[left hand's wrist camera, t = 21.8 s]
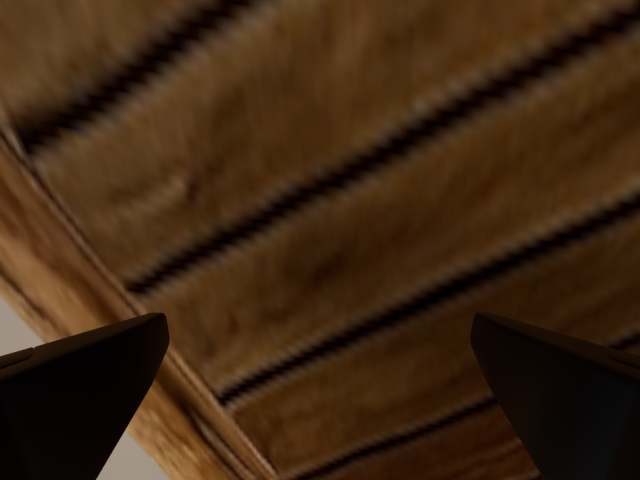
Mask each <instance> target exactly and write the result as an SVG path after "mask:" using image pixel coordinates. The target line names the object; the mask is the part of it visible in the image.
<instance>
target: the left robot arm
mask: <svg viewBox="0 0 640 480" xmlns="http://www.w3.org/2000/svg"><path fill="white" fill-rule="evenodd" d="M168 346H169V331H168V325H167V319H166V316H165V314H164V313H148V314H145V315H142V316H138V317H135V318H131V319H128V320H125V321H121V322H118V323H114V324H111V325H108V326H104V327H101V328H97V329H94V330H91V331H87V332H84V333H80V334H77V335H74V336H70V337H67V338H63V339H60V340H57V341H53V342H50V343H46V344H43V345H40V346H36V347H35V348H32V347H31V348H28V349H24V350H21V351H17V352H14V353H10V354H7V355H3V356H0V480H96V479H97V477H98V475H99V474H100V472H101V470H102V468H103V467H104V465H105V463H106V462H107V460H108V458H109V457H110V455H111V453H112V451H113V450H114V448H115V446H116V445H117V443H118V441H119V440H120V438H121V436H122V434H123V433H124V431H125V429H126V428H127V426H128V424H129V423H130V421H131V419H132V418H133V416H134V414H135V412H136V411H137V409H138V407H139V406H140V404H141V402H142V401H143V399H144V397H145V395H146V394H147V392H148V390H149V389H150V387H151V385H152V383H153V381H154V379H155V377H156V374H157V372H158V370H159V367H160V365H161V363H162V360H163V358H164V356H165V353H166V351H167V349H168ZM471 346H472V349H473V351H474V353H475V356H476V358H477V360H478V363H479V365H480V367H481V370H482V372H483V374H484V377H485V379H486V381H487V383H488V385H489V387H490V389H491V390H492V392H493V394H494V395H495V397H496V399H497V401H498V402H499V404H500V406H501V407H502V409H503V411H504V412H505V414H506V416H507V418H508V419H509V421H510V423H511V424H512V426H513V428H514V429H515V431H516V433H517V435H518V436H519V438H520V440H521V441H522V443H523V445H524V446H525V448H526V450H527V452H528V453H529V455H530V457H531V458H532V460H533V462H534V463H535V465H536V467H537V469H538V470H539V472H540V474H541V475H542V477H543V479H544V480H640V356H637V355H633V354H630V353H626V352H623V351H619V350H616V349H612V348H609V347H607V348H605V347H604V346H600V345H597V344H594V343H590V342H587V341H583V340H580V339H577V338H573V337H570V336H566V335H563V334H560V333H556V332H553V331H549V330H546V329H543V328H539V327H536V326H532V325H529V324H526V323H522V322H519V321H515V320H512V319H509V318H505V317H502V316H498V315H495V314H492V313H476V314H475V316H474V319H473V325H472V331H471Z"/></svg>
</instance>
